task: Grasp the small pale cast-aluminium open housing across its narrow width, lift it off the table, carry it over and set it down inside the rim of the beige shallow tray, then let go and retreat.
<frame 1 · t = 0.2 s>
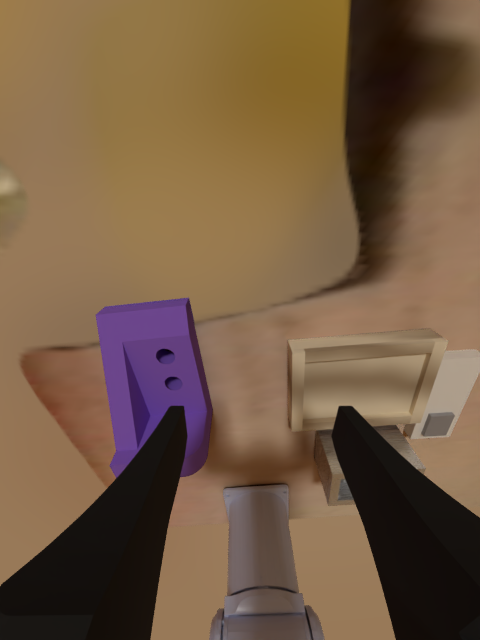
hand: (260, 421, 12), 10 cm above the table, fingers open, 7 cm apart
bracket: (165, 361, 23), on the table
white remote: (432, 389, 25), on the table
beige shallow tray: (352, 375, 23), on the table
housing: (352, 440, 27), on the table
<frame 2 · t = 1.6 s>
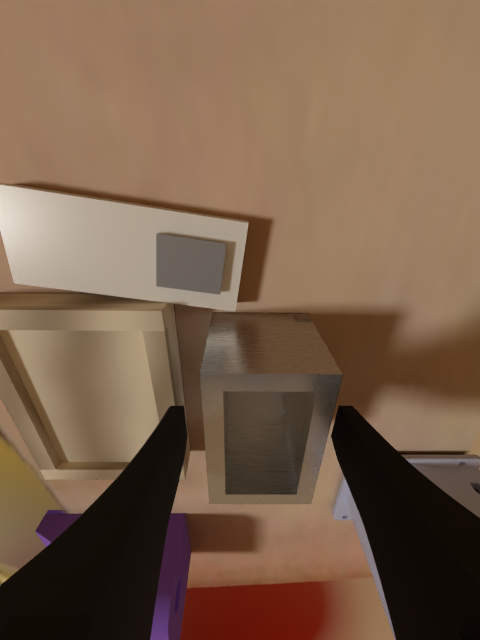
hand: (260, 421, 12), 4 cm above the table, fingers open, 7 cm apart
bracket: (125, 527, 24), on the table
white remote: (138, 247, 12), on the table
beige shallow tray: (109, 386, 15), on the table
housing: (256, 373, 15), on the table
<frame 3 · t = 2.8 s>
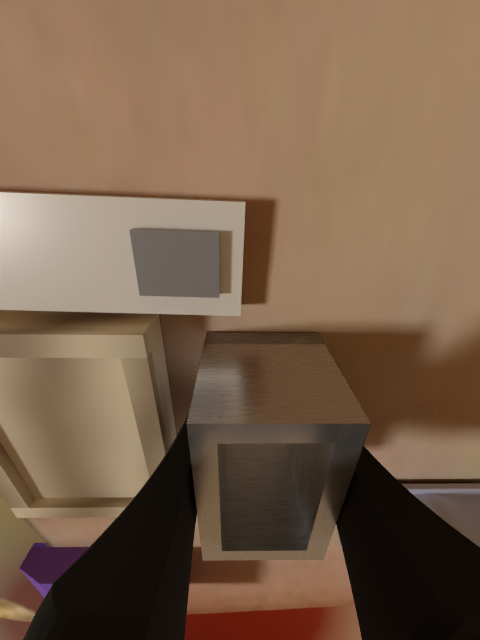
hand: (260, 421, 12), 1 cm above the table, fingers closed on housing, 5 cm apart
bracket: (118, 558, 22), on the table
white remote: (117, 250, 10), on the table
beige shallow tray: (88, 413, 13), on the table
housing: (258, 399, 13), on the table, touching gripper
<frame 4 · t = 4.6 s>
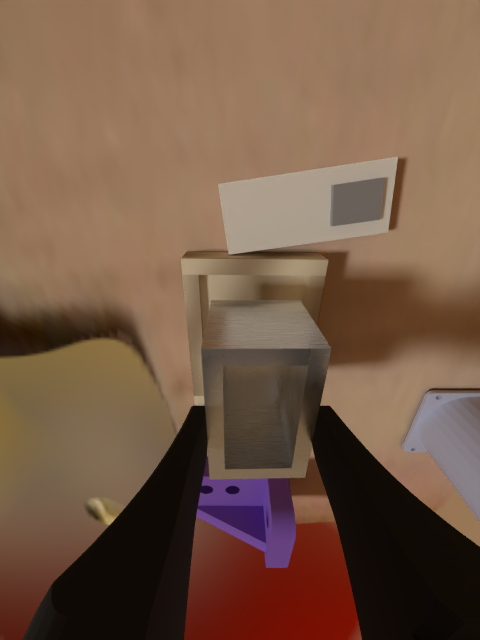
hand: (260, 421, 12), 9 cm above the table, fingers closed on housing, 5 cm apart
bracket: (228, 472, 29), on the table
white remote: (300, 207, 16), on the table
beige shallow tray: (250, 329, 20), on the table
housing: (253, 359, 16), point 4 cm above the table, touching gripper
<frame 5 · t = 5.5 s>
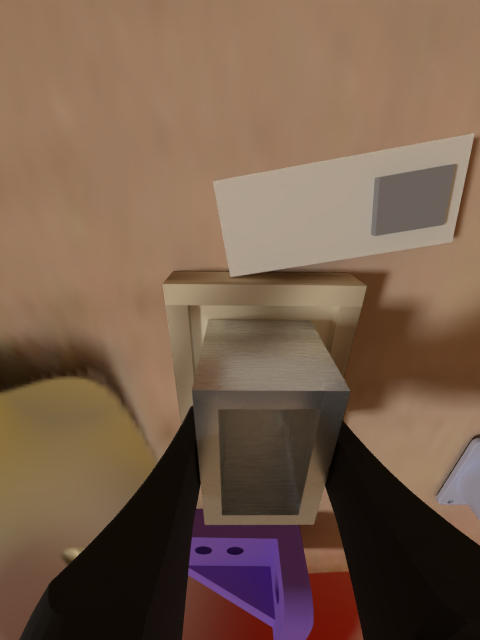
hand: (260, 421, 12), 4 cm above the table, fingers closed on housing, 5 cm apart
bracket: (229, 523, 25), on the table
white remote: (326, 211, 12), on the table
beige shallow tray: (256, 367, 16), on the table
housing: (255, 382, 14), point 1 cm above the table, touching gripper, beige shallow tray
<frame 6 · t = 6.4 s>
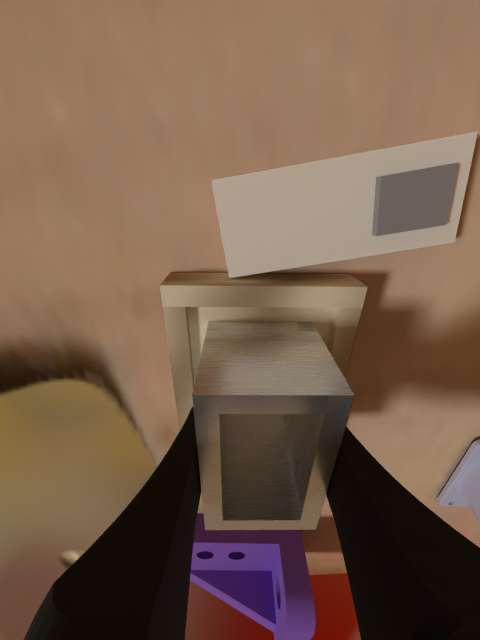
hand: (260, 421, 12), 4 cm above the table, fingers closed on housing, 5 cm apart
bracket: (230, 527, 25), on the table
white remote: (327, 211, 12), on the table
beige shallow tray: (255, 369, 15), on the table
housing: (256, 385, 14), point 1 cm above the table, touching gripper, beige shallow tray
when the fingers open (4 cm above the table, at t = 6.5 s): housing stays where it is, resting on beige shallow tray.
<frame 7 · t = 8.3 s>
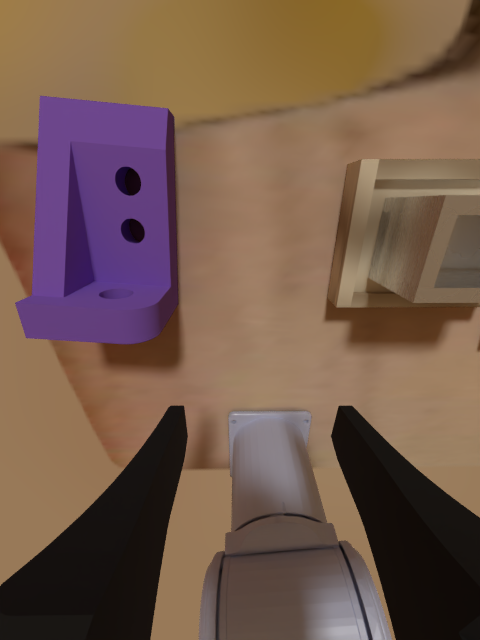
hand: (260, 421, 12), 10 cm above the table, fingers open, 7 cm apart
bracket: (128, 218, 18), on the table
beige shallow tray: (420, 237, 18), on the table
housing: (436, 240, 17), point 1 cm above the table, touching beige shallow tray
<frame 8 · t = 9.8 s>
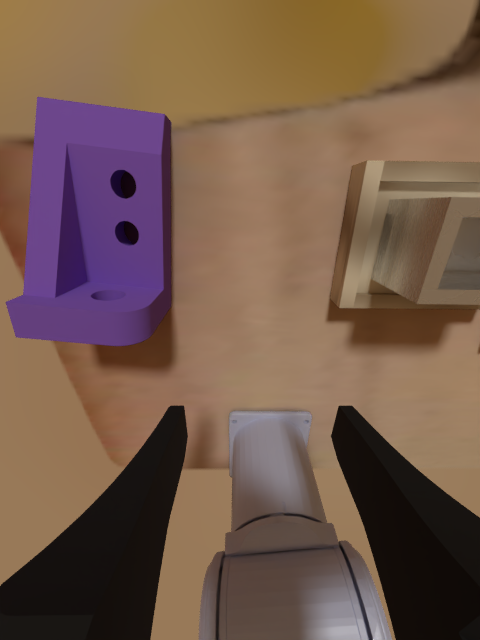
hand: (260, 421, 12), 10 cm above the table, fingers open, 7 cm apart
bracket: (123, 220, 18), on the table
beige shallow tray: (423, 240, 18), on the table
housing: (439, 242, 17), point 1 cm above the table, touching beige shallow tray
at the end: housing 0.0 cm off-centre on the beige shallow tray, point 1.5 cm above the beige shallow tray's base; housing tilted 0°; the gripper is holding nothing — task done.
